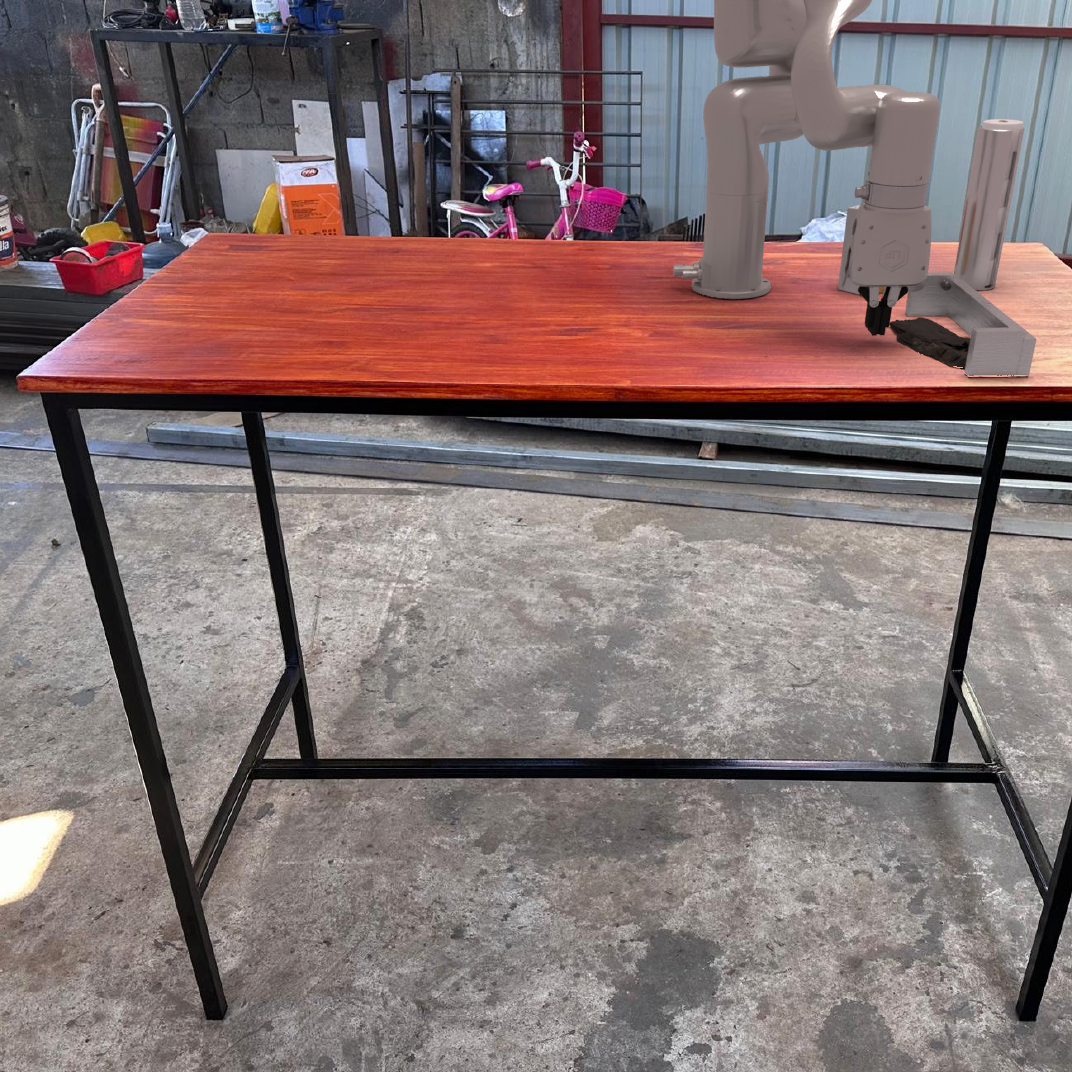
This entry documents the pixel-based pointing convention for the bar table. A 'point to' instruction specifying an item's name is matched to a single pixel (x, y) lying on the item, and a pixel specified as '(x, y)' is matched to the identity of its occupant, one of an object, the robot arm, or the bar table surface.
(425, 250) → the bar table surface
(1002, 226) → the silver metal cylinder
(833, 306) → the bar table surface
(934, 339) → the wood
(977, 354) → the rack
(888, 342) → the bar table surface
